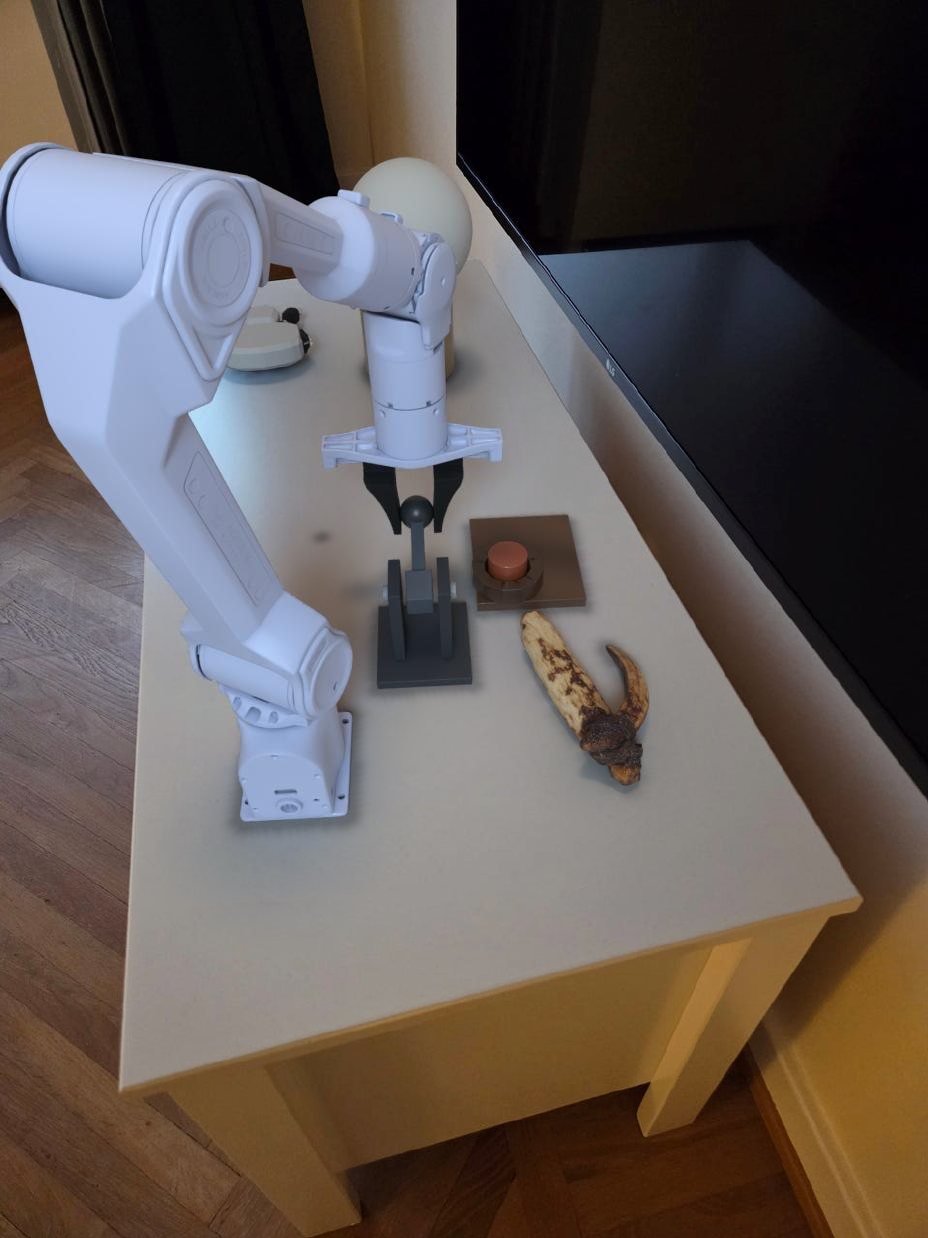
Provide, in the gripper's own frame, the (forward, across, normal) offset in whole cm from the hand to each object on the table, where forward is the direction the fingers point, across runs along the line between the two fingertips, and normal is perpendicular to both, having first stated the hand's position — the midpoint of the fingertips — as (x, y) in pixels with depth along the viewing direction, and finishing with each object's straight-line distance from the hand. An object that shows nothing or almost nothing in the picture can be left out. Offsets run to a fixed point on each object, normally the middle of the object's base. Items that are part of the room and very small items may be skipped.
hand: (418, 526), depth 74 cm
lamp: (+8, 0, -38) cm, 39 cm away
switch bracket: (+8, 0, +8) cm, 11 cm away
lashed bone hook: (+8, -14, +14) cm, 21 cm away
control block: (+8, -10, -2) cm, 13 cm away
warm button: (+5, -8, +1) cm, 9 cm away
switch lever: (+1, 0, +3) cm, 4 cm away
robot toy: (+5, +20, -45) cm, 49 cm away
